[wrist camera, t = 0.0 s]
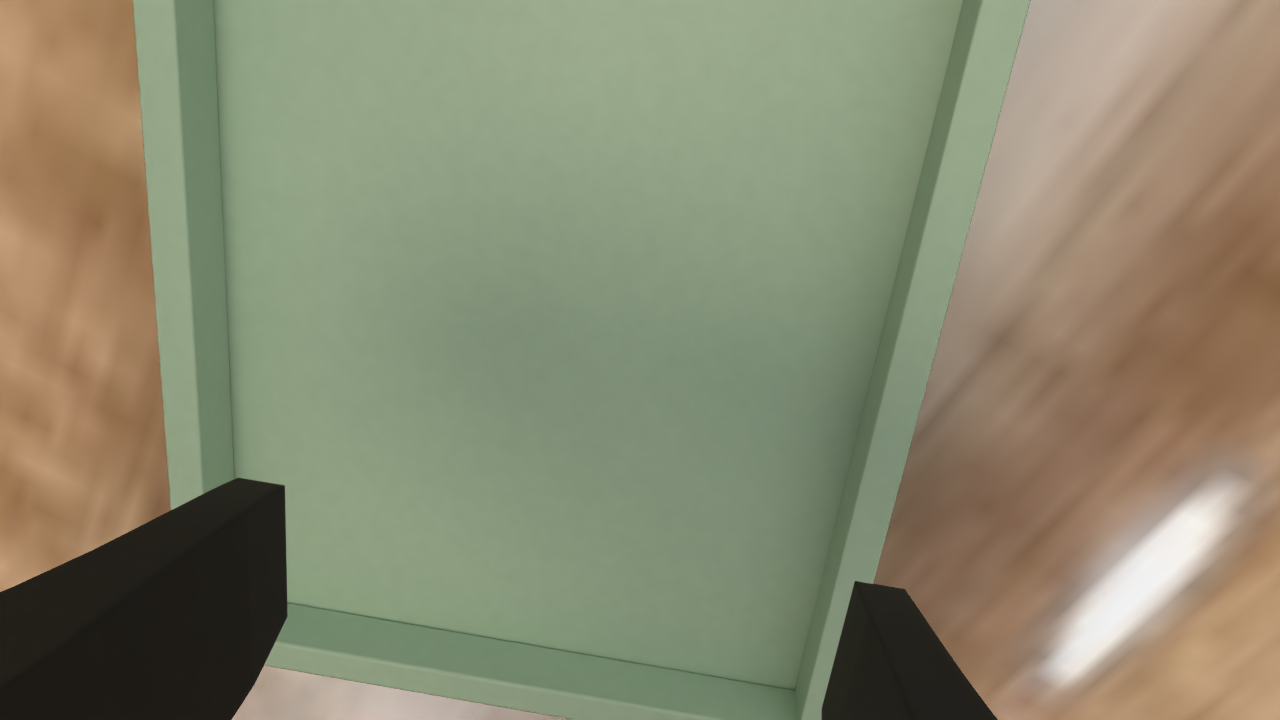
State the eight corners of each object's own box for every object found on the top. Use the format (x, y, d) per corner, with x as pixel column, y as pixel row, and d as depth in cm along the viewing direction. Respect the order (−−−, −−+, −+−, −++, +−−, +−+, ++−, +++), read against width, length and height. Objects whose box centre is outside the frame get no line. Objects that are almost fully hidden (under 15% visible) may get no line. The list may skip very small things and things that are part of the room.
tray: (819, 705, 26) (824, 765, 24) (220, 601, 26) (180, 652, 25) (1044, -160, 18) (1077, -169, 16) (173, -278, 18) (108, -298, 17)
